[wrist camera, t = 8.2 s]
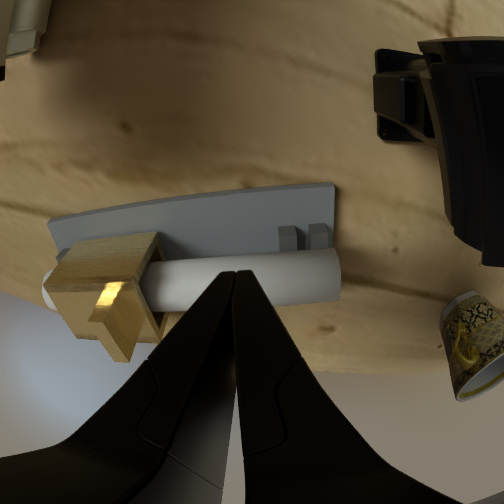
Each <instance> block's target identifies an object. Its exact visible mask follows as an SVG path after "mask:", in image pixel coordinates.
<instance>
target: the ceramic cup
mask: <svg viewBox="0 0 504 504" xmlns="http://www.w3.org/2000/svg"><path fill="white" fill-rule="evenodd" d="M440 331H441V336H442V339H443V343H444V347H445V351H446V355H447V359H448V363H449V369H450V376H451V381H452V386H453V391H454V394H455V398H456V400H457V401H460V402H462V401H467V400H470V399H473V398H476V397H478V396H480V395H482V394H484V393H486V392H487V391H489V390H491V389H492V388H494V387H495V386H496V385H498V384H499V383H500V382H502V381H503V380H504V317H503V316H502V315H501V314H500V313H499V312H498V311H497V310H496V309H495V307H494V306H492V304H491V303H490V302H489V301H488V300H487V299H486V298H485V297H483V296H482V295H481V294H479V293H477V292H476V291H474V290H471V291H468V292H466V293H464V294H461V295H459V296H457V297H455V298H454V299H453V300H452V301H451V302H450V303H449V304H448V306H447V307H446V308H445V309H444V310H443V311H442V313H441V319H440Z"/></svg>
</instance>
